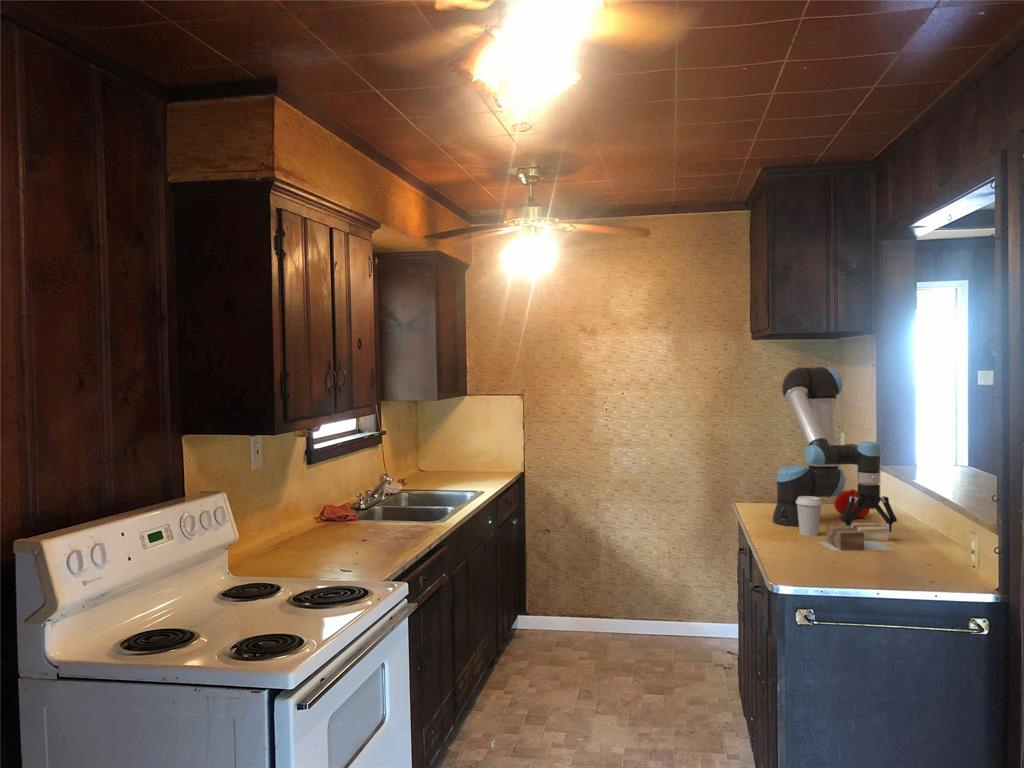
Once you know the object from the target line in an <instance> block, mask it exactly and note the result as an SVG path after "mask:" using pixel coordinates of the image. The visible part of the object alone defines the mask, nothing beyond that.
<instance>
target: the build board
mask: <svg viewBox="0 0 1024 768" xmlns="http://www.w3.org/2000/svg"><path fill="white" fill-rule="evenodd" d="M817 543H819V544H820V545H822V546H824V547H825V548H827V549H829V550H831V551H832V552H833V551H836V552H837V551H840V550H839V549H838V548H836V547H834V546H832V545H831V544H829V543H827V541H817ZM863 551H896V549H895V548H893V547H891V546H889V545H886V544H884V543H882V542H881V541H864V550H863Z"/></svg>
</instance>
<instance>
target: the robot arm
mask: <svg viewBox="0 0 1024 768" xmlns="http://www.w3.org/2000/svg"><path fill="white" fill-rule="evenodd" d="M781 385H782V386H781V389H782V390H781V392H782V394H783V398H784V400H785V402H787V403H789V405H790V407H791V408H790V409H791V410H792V412H793V415H794V417H795V420H796V422H797V424H798V426H799V429H800V431H801V434H802V436H803V439H804V441H805V443H806V445H807V446H806V447H805V451H804V456H805V457H804V458H805V460H806V463H808V467H807V466H806V465H787V466H784V467H783V466H782V467H780V468H778V470H777V473H776V474H777V475H776V506H775V508H774V511H773V514H772V522H773V523H774V524H775V525H783V526H790V527H799V521H798V510H797V503H796V500H797V499H798V497H800V496H813V497H818V498H832V497H837V496H838V495H839V494H840V493H841V492H842V491H844V487H845V483H846V477H845V473H844V471H843V470H842V469H840V468H839V465H841V466H842V465H856V466H857V492H858V496H857V497H851V496H850V497H849V501H848V504H847V506H846V508H845V511H844V513H843V515H841V517H840V521H841V522H843V523H844V524H845V526H850V527H852V528H853V524H852V523H854V521H855V519H857V518H856V517H857V515H858V514H859V513H860V512H861V511H862V510H863V509H869V508H870V510H876V512H878V514H879V515H880V517H882V519H883V520H884V521H885V522H883V527H885V528H887V529H888V541H890V533H892V525H893V524H894V523H897V521H898V519H897V517H896V515H895V513H894V510H893V509H892V506H891V504H890V499H889V497H888V496H885V495H883V496H881V486H880V483H881V450H880V448H881V445H880V443H879V442H877V441H867V440H866V441H858V443H857V444H855V443H846V444H845V443H844V444H835V443H834V441H835V440H834V439H835V438H834V411H833V410H834V405H833V404H834V402H835V401H837V396H838V395H840V394H841V392H842V389H843V380H842V377H841V375H840V372H838V371H837V369H835V368H833V367H830V366H829V367H828V366H827V367H826V366H825V367H824V366H823V367H822V366H820V367H819V366H818V367H817V366H816V367H815V366H814V367H812V366H809V367H803V366H802V367H795V368H794V369H792V370H789V372H787V374H786V375H785V377H784V379H783V380H782V384H781ZM856 501H858V504H857V506H856V508H855V509H854V510H853V512H852V513H851V511H852V508H853V506H854V503H856ZM880 502H881V503H882V504H883V507H884V509H885V511H886V512H885V511H884V510H883V509H882V507H881V506H880V504H879V503H880ZM850 513H851V514H850Z"/></svg>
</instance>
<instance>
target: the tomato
mask: <svg viewBox="0 0 1024 768" xmlns="http://www.w3.org/2000/svg"><path fill="white" fill-rule="evenodd" d="M850 496H851V497H857V496H858V490H856V489H850V490H843V491H842V492H841V493H840V494H839V495H838V496H835V499H834V509H835V510H836V512H837V513H839V514H840V516H842V515H843V513H844V511H845V508H846V506H847V504H848V501H849V497H850ZM857 504H858V501H856V503H854V506H853V508H852V511H851V513H852V512H853V510H854V509H855V508H856V506H857ZM870 510H871V509H870V508H869V509H863V510H862V511H861V512H860V513H859V514H858V515H857V517H856V518H855V519H859V518H863V517H865V516H867V515H868V514H869V513H870ZM851 513H850V514H851Z"/></svg>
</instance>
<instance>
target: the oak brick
mask: <svg viewBox="0 0 1024 768" xmlns="http://www.w3.org/2000/svg"><path fill="white" fill-rule="evenodd" d="M852 524H853V528H854V529H857V530H859V531H861V532H863V533H864V541H878V542H889V540H888V529H887V528H885V527H884V525H881V524H879V523H877V522H858V523H857V522H852Z"/></svg>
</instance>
